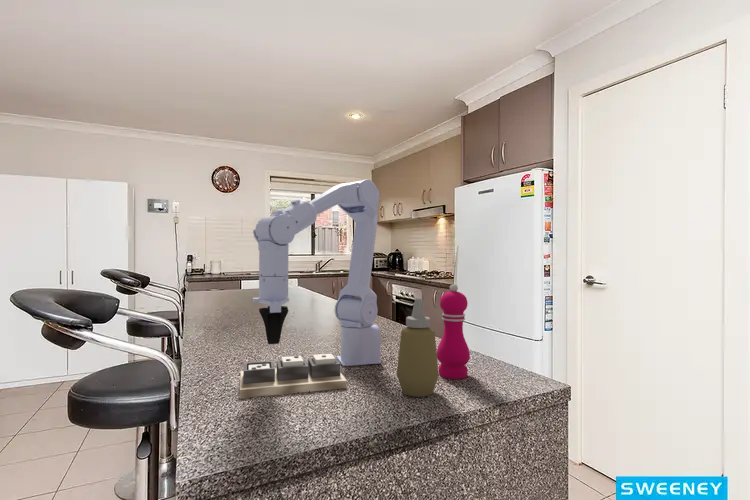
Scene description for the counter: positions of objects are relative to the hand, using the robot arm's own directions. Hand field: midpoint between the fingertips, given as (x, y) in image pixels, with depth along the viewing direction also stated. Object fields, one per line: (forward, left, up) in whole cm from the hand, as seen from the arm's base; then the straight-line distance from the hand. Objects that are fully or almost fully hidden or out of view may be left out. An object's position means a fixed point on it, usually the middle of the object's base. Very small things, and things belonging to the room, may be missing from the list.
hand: (273, 343), depth 80 cm
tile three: (+3, 0, -7) cm, 7 cm away
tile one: (-10, 0, -5) cm, 12 cm away
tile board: (-4, 0, -8) cm, 9 cm away
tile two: (-4, 0, -5) cm, 7 cm away
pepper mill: (-38, +4, -9) cm, 39 cm away
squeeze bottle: (-26, +12, -9) cm, 30 cm away
